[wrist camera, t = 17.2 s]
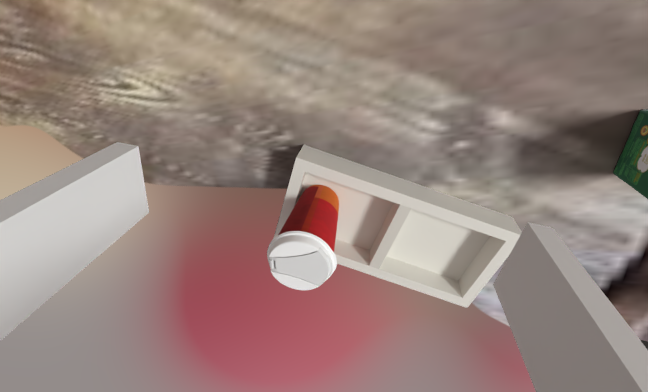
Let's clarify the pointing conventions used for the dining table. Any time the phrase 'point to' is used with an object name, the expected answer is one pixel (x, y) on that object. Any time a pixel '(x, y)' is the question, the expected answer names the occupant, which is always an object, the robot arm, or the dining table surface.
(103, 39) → the dining table surface
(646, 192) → the coffee box
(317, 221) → the paper cup
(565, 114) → the dining table surface
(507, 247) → the cup carrier
